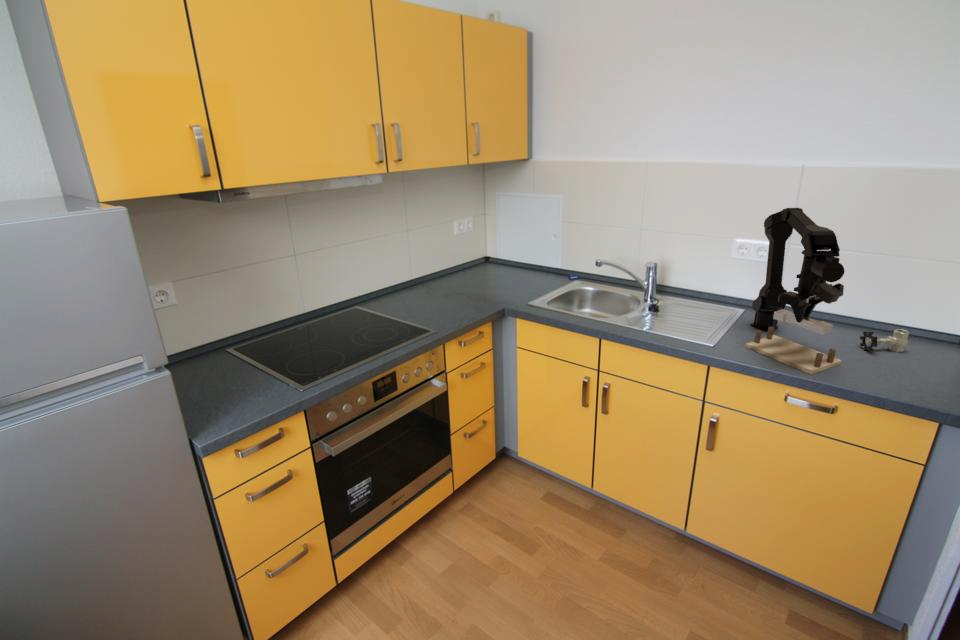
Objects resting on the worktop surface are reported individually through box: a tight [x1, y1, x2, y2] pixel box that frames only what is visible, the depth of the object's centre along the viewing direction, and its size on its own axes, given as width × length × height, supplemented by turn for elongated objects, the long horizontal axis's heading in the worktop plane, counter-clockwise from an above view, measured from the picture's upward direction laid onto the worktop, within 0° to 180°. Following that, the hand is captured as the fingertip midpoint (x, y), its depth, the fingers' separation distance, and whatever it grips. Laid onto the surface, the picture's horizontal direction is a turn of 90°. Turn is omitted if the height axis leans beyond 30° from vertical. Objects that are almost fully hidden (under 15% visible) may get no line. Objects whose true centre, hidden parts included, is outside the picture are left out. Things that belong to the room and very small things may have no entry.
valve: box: [859, 328, 910, 353], centre depth 158 cm, size 7×7×12 cm
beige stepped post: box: [773, 308, 834, 336], centre depth 154 cm, size 16×4×2 cm, turn 27°
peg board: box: [744, 327, 843, 375], centre depth 157 cm, size 22×14×5 cm, turn 26°
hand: (801, 321), depth 154 cm, fingers closed on beige stepped post, 2 cm apart
